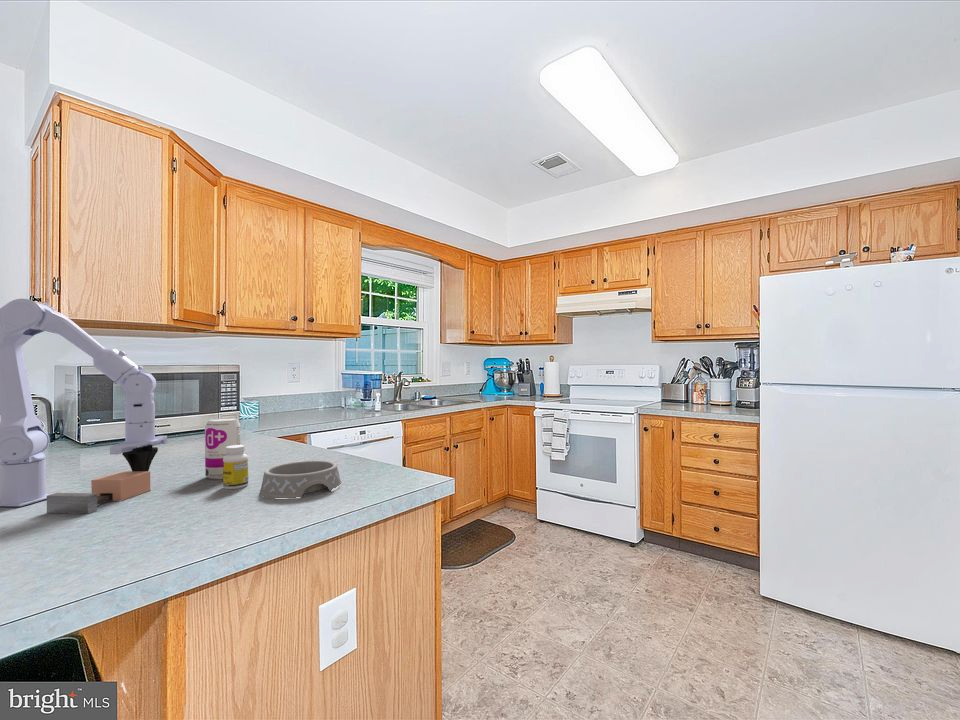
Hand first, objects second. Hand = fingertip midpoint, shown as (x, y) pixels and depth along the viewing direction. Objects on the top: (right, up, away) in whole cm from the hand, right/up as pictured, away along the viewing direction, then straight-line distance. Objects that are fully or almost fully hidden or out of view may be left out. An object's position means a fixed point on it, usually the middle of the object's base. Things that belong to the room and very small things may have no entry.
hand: (140, 478), depth 110 cm
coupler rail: (-1, -2, -11) cm, 12 cm away
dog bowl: (+39, -3, -1) cm, 39 cm away
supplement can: (+13, -3, +12) cm, 18 cm away
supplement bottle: (+22, -2, +1) cm, 22 cm away
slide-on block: (0, -2, -5) cm, 6 cm away
